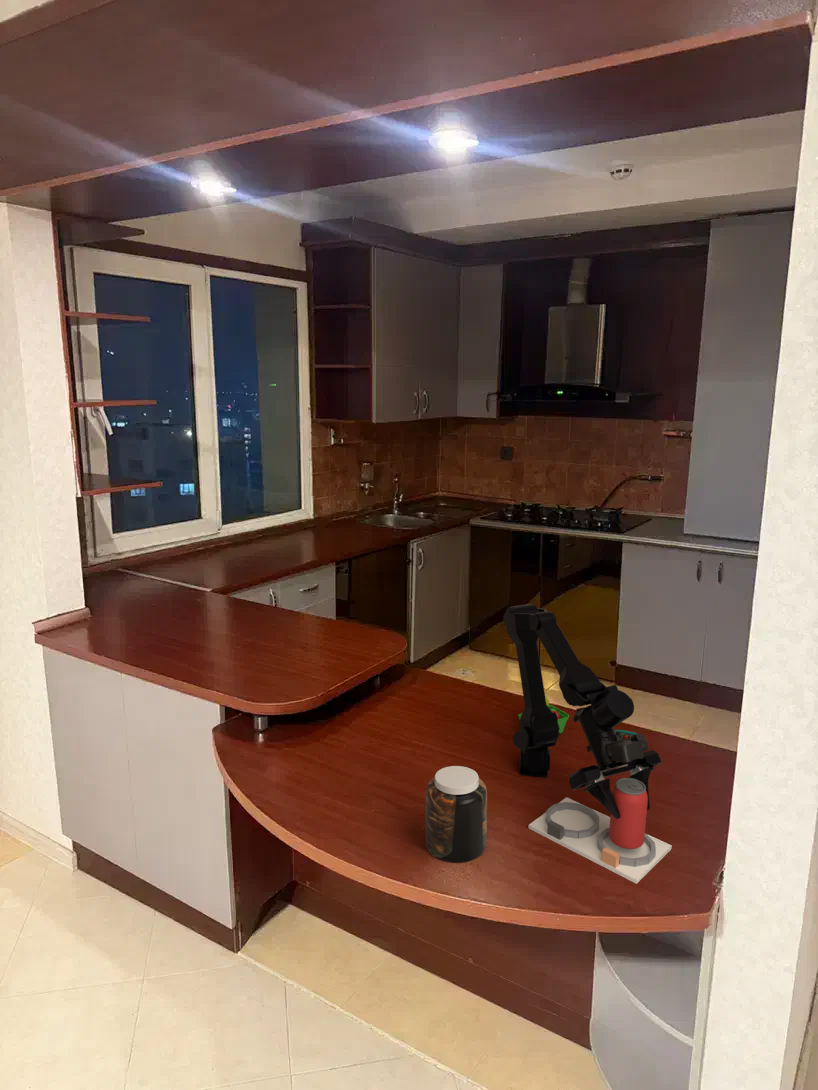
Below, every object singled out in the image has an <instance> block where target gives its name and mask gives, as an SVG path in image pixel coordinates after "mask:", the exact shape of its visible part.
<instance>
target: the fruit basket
mask: <svg viewBox="0 0 818 1090" xmlns="http://www.w3.org/2000/svg"><path fill="white" fill-rule="evenodd" d="M545 698H546V704H547V706H548V707H549V709H550V710H551V711H552V712H555V713H556V714H557V720H558V726H559V728H560V730H559V733H560V734H562V733H563V732H564V729H565V726H566V724H567V721H568V720H569V717H570V714H568V713H567V712H565V711H564V710H561V709H559V708H558V707H556V706H554V705H553V704H550V700H549V698H548V697H547V696H546V695H545ZM522 713H523V712H520V713H519V714H518V715H517V716H518V719H519V720H520V718H521V716H522Z"/></svg>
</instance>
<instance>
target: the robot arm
mask: <svg viewBox="0 0 818 1090" xmlns="http://www.w3.org/2000/svg"><path fill="white" fill-rule="evenodd" d="M502 621H503V624H504V626H505V630H506V634H507V636H508V637H509V638H510V640H512V642H513V644H514V645H515V649H516V654H517V661H518V667H519V668H518V669H519V675H520V683H521V688H522V689H521V690H522V695H523V702H524V709H523V711H522V712H521V713H522V716H521V718H520V719H519V725H520V729H519V730H518V731H516V732H515V733H514V734H513V735H512V741H513V745H514V747H516V748H517V749H519V750H520V755H519V757H520V758H519V763H518V764H519V766H518V767H519V768H518V774H519V775H520V776H527V777H528V776H529V777H539V778H540V777H542V778H547V777H548V772H549V771H550V768H551V750H550V749H549V747H550V748H551V747H556V743H557V741H558V738H559V736H560V734H559V730H560V728H559V726H558V720H557V714H556V713H555V712H552V711H551V710H550V709H549V707H548V706H547V704H546V698H545V696H546V693H545V687H544V680H543V673H542V668H541V667H542V666H541V659H540V654H539V645H538V640H540V643H541V644H542V646H543V648H544V649H545V651H546V652H547V655H548V656H549V658H550V660H551V662H552V663H553V665H554V667H555V668H556V671H557V673H558V675H559V680H558V681H559V682H558V686H559V689H560V691H561V694H562V696H563V699H564V700H565V702H566V703H567V704H568V705H569V706H572V707H578V708H576V710H575V714H574V716H573V722H574V723H578V722H579V723H580V726H581V727H582V730H583V734H584V736H585V738H586V741H587V743H588V745H587V746H586V747H585V748H586V750H587V752H588V753H589V752H592V756H593V757H594V760H595V763H596V765H595V764H593V765H590V766H586V767H581V768H579V769H577V770H575V772H573V773H571V774H569V777H568V784H569V786H570V789H571V791H575V790H579V789H582V790H583V792H584V793H585V792H586V793H589V794H590V795H591V796H592V797H593V798H595V799H596V800H597V801H598V802H599V803H600V804H601V805H602V806H603V807H604V808H605V809H606V810H607V811H608V812H609V813H610V815H611V814H612V815H613V816H614V817H615V818H616V819H619V818H620V813H619V810H618V807H617V805H616V803H615V800H614V798H613V795H612V791H611V787H610V783H611V782H610V779H611V778H607V777H610V776H615V775H618V774H623V773H626V772H629V773H630V776H628V777H627V778H633V779H636V780H639V781H641V782H642V783H643V784H644V785H645V787H646V792H647V796H648V803H647V811H648V810H650V809H651V804H650V793H649V792H650V791H649V778H650V774H651V772H652V771H655V770H654V769H655V767H656V766H658V765H661V764H662V763H663V760H662V758H661V756H660V754H659V753H658V752H657V751H656V750H653V749H651V750H649V744H648V740H647V738H646V736H645V735H644V733H638V734H635V735H632V736H631V740H626V741H625V740H624V739H623V737H622V735H620V733H619V734H616V733H615V731H614V730H615V728H614V727H617V726H618V725H620V724H621V723H622V722H624V721H625V720H627V719H629V718H630V717H632V715H633V714H634V712H635V711H634V710H635V705H634V701H633V699H632V698H631V697H630V696H629V695H628V694H627V693H626V692H624V691H622V690H619V689H618V686H617V684H614V685H610V686H609V685H608V686H606V685H605V684H604V683H603V682H602V681H601V680H600V679H599V678H598V676H597V674H596V673H595V672H594V671H593V670H592V668H590V667H588V666H586V665H585V664H584V663H582V662H581V661H580V659H579V658H578V656H577V655H576V653H575V652H574V650H573V648H572V646H571V645H570V643H569V641H568V639H567V638H566V636H565V635H564V633H563V631H562V629H561V628H560V626H559V624H558V623H557V617H556V615H555V613H554V612H552V611H548V610H547V609H546V608H539V607H538V606H536V605H535V604H534V603H526V604H520V605H514V606H509V607H507V608H506V609H505V612H503V617H502ZM583 706H584V707H583ZM579 707H580V708H579ZM605 778H606V779H605Z"/></svg>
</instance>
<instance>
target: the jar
mask: <svg viewBox="0 0 818 1090" xmlns="http://www.w3.org/2000/svg"><path fill="white" fill-rule="evenodd" d="M434 774H435V775H434V777H433V778H432V779H430V781H429V782H428V783H427V786H426V791H425V848H426V850H427V851H428V852H429V854H430V855H431V856H432V857H434V858H435V859H438V860H440V861H443V862H446V863H447V862H449V863H456V864H457V863H460V864H461V863H466V862H471V861H473V860H476V859H478V858H479V857H480V856H482V855H483V854H484V852H485V851H486V847H487V833H488V831H487V829H488V791H487V785H486V784H485V782H484V781H483V780H482V779H481V778H479V775H478V773H477V772H476V771H475V770H474V769H472V768H469V767H467V766H462V765H451V766H445V767H443V768H441V769H439V770H437V772H436V773H434Z"/></svg>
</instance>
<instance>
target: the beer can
mask: <svg viewBox="0 0 818 1090" xmlns="http://www.w3.org/2000/svg"><path fill="white" fill-rule="evenodd" d="M611 793H612V795H613V798H614V800H615V803H616V805H617V807H618V810H619V813H620V818H619V819H616V818H615V817H614V816H613V815H612V814H611V813H610V815H609V817H610V828H609V837H610V839H611V841H612V842H613V843H614V844H615V845H617V846H619V847H621V848H624V849H637V848H639V847H641V846H642V845H643V843H644V837H645V834H646V824H647V812H648V810H647V803H648V796H647V792H646V787H645V785H644V784H643V783H642V782H641V781H639V780H636V779H633V778H628V777H621V778H619V779H617V780H616V781H615V785H614V787H613V789H612V791H611Z"/></svg>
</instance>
